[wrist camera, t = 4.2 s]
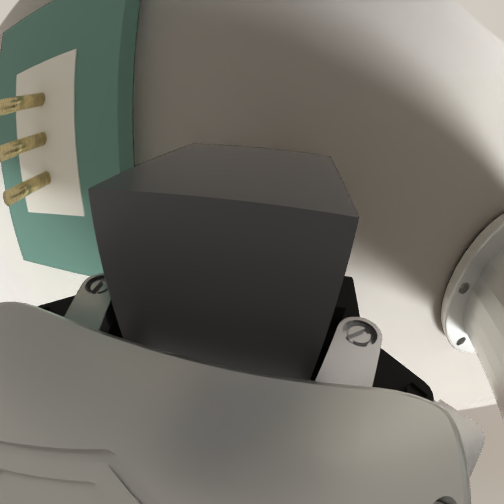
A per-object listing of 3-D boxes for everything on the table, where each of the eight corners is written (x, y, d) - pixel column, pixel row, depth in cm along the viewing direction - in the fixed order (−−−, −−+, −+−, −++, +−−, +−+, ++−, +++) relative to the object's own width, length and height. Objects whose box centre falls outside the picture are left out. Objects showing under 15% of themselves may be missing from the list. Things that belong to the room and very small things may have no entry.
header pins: (45, 90, 11) (1, 98, 8) (51, 184, 14) (12, 206, 11) (36, 94, 11) (-7, 102, 8) (43, 184, 14) (5, 206, 11)
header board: (144, -25, 8) (131, -33, 7) (146, 272, 18) (135, 286, 16) (16, 32, 9) (2, 33, 8) (34, 251, 19) (23, 260, 17)
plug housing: (330, 156, 9) (359, 217, 4) (296, 337, 14) (282, 443, 9) (192, 143, 10) (87, 188, 5) (198, 320, 15) (154, 413, 9)
